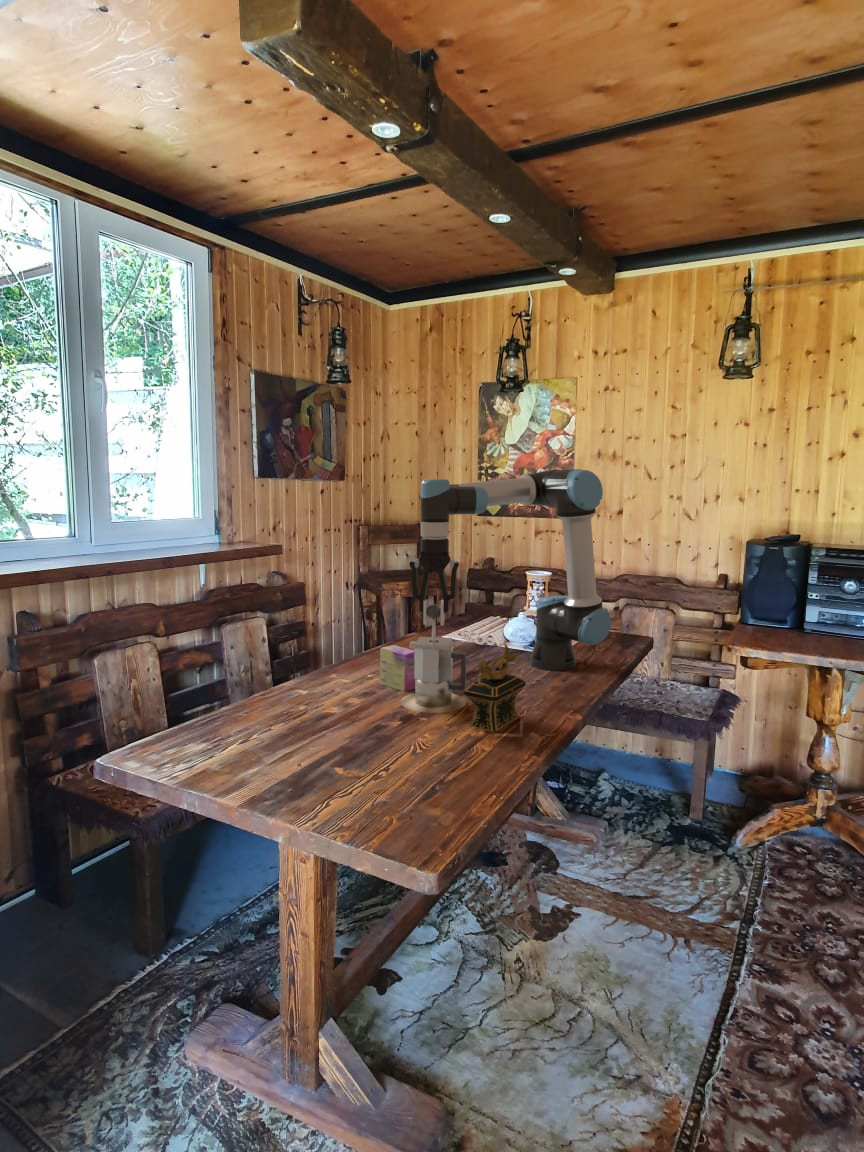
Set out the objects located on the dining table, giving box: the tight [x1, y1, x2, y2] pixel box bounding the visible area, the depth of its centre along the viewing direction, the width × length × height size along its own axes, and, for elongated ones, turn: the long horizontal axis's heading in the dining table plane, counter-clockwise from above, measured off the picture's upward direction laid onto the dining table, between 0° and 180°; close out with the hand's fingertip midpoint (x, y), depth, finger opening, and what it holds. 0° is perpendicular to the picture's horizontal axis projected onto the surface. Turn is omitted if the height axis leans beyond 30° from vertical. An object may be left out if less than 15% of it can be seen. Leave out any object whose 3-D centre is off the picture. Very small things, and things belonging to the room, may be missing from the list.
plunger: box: [427, 603, 441, 642], centre depth 189 cm, size 4×4×17 cm
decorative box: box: [463, 642, 527, 735], centre depth 178 cm, size 20×10×20 cm, turn 146°
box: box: [379, 644, 415, 692], centre depth 206 cm, size 10×6×12 cm, turn 47°
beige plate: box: [400, 692, 467, 714], centre depth 192 cm, size 18×18×1 cm
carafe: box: [408, 636, 467, 708], centre depth 191 cm, size 15×10×17 cm, turn 82°
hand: (433, 623), depth 189 cm, fingers closed on plunger, 4 cm apart
